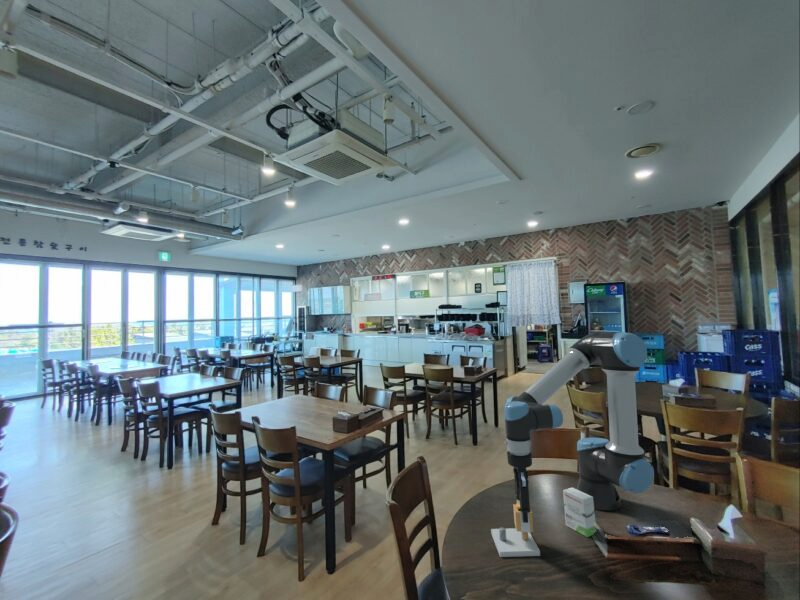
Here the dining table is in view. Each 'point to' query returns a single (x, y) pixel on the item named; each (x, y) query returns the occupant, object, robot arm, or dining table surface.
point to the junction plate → (514, 543)
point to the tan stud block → (517, 517)
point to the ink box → (579, 511)
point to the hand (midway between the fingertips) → (524, 526)
